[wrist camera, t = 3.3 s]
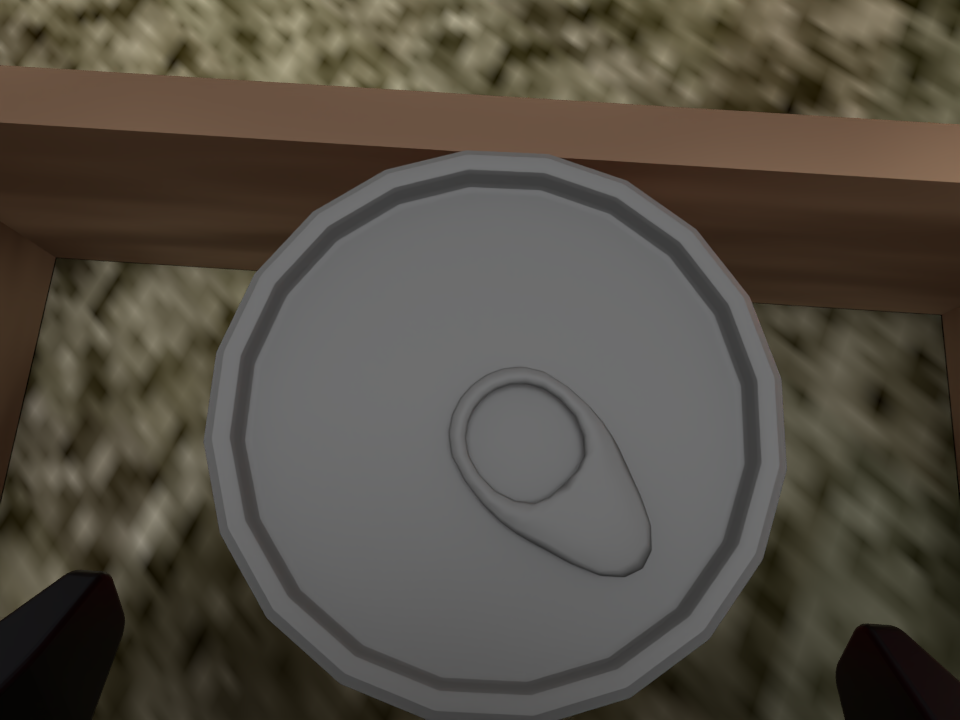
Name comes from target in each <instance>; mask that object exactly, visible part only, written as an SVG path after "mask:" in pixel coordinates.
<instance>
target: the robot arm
mask: <svg viewBox="0 0 960 720" xmlns="http://www.w3.org/2000/svg"><path fill="white" fill-rule="evenodd" d="M124 626H125V617H124V612H123V609H122V606H121V603H120V600H119V597H118V594H117V591H116V588H115V585H114V582H113V579H112V577H111V576H110V575H109V574H108V573H107V572H103V571H89V570H75V571H72V572H70V573H67V574H66V575H64V576H63V577H61V578H60V579H58V580H57V581H56V582H54V583H53V584H51V585H50V586H49V587H47V588H46V589H44V590H43V591H42V592H40V593H39V594H37V595H36V596H35V597H33V598H32V599H30V600H29V601H28V602H26V603H25V604H23V605H22V606H21V607H19V608H18V609H16V610H15V611H14V612H12V613H11V614H9V615H8V616H7V617H5V618H4V619H2V620H1V621H0V720H92V717H93V714H94V712H95V709H96V706H97V704H98V701H99V698H100V695H101V693H102V690H103V687H104V685H105V682H106V679H107V676H108V674H109V671H110V668H111V665H112V663H113V660H114V657H115V655H116V652H117V649H118V646H119V644H120V641H121V638H122V635H123V631H124ZM836 684H837V689H838V693H839V697H840V701H841V705H842V709H843V713H844V717H845V720H960V682H959V681H958V680H957V679H956V678H955V677H954V676H953V675H952V674H950V673H949V672H948V671H947V670H946V669H945V668H944V667H943V666H942V665H940V664H939V663H938V662H937V661H936V660H935V659H934V658H933V657H931V656H930V655H929V654H928V653H927V652H926V651H925V650H924V649H923V648H921V647H920V646H919V645H918V644H917V643H916V642H915V641H914V640H912V639H911V638H910V637H909V636H908V635H907V634H906V633H905V632H903V631H902V630H900V629H899V628H897V627H895V626H890V625H879V624H861V625H860V626H858V627H857V628H856V629H855V630H854V632H853V634H852V636H851V638H850V640H849V642H848V644H847V646H846V648H845V650H844V652H843V654H842V656H841V658H840V660H839V661H838V664H837V668H836Z"/></svg>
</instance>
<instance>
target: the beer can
mask: <svg viewBox="0 0 960 720" xmlns="http://www.w3.org/2000/svg"><path fill="white" fill-rule="evenodd" d="M204 446H205V452H206V457H207V463H208V469H209V474H210V480H211V485H212V491H213V497H214V502H215V508H216V513H217V519H218V525H219V530H220V534H221V536H222V538H223V540H224V541H225V543H226V545H227V547H228V549H229V550H230V552H231V554H232V556H233V558H234V560H235V561H236V563H237V565H238V567H239V569H240V570H241V572H242V574H243V576H244V578H245V579H246V581H247V583H248V585H249V587H250V589H251V590H252V592H253V594H254V596H255V598H256V599H257V601H258V603H259V605H260V607H261V608H262V610H263V612H264V614H265V616H266V618H268V619H269V620H270V621H271V622H272V623H273V624H274V625H275V626H276V627H278V628H279V629H280V630H281V631H282V632H283V633H284V634H285V635H286V636H288V637H289V638H290V639H291V640H292V641H293V642H294V643H295V644H296V645H298V646H299V647H300V648H301V649H302V650H303V651H304V652H305V653H306V654H308V655H309V656H310V657H311V658H312V659H313V660H314V661H315V662H316V663H318V664H319V665H320V666H321V667H322V668H323V669H324V670H325V671H326V672H328V673H329V674H330V675H331V676H332V677H333V678H334V679H335V680H336V681H338V682H339V683H340V684H342V685H344V686H347V687H349V688H352V689H354V690H356V691H359V692H361V693H364V694H366V695H368V696H371V697H373V698H376V699H378V700H380V701H383V702H385V703H388V704H390V705H393V706H395V707H397V708H400V709H402V710H405V711H407V712H409V713H412V714H414V715H417V716H419V717H421V718H424V719H426V720H559V719H563V718H566V717H569V716H573V715H576V714H579V713H582V712H586V711H589V710H592V709H596V708H599V707H602V706H605V705H609V704H612V703H615V702H619V701H622V700H625V699H628V698H631V697H632V696H633V695H635V694H636V693H637V692H639V691H640V690H641V689H643V688H644V687H645V686H647V685H648V684H650V683H651V682H652V681H654V680H655V679H656V678H658V677H659V676H660V675H662V674H663V673H664V672H666V671H667V670H668V669H670V668H671V667H672V666H674V665H675V664H676V663H678V662H679V661H680V660H682V659H683V658H684V657H686V656H687V655H689V654H690V653H691V652H693V651H694V650H695V649H697V648H698V647H699V646H701V645H702V644H703V643H705V642H706V641H707V640H709V639H710V637H711V636H712V634H713V633H714V631H715V630H716V628H717V627H718V625H719V624H720V622H721V621H722V619H723V618H724V616H725V615H726V613H727V612H728V610H729V609H730V607H731V606H732V604H733V603H734V601H735V600H736V598H737V597H738V595H739V594H740V592H741V591H742V590H743V588H744V587H745V585H746V584H747V582H748V581H749V579H750V578H751V576H752V575H753V573H754V572H755V570H756V569H757V567H758V566H759V564H760V563H761V561H762V560H763V557H764V553H765V549H766V545H767V542H768V538H769V534H770V530H771V527H772V523H773V519H774V515H775V512H776V508H777V504H778V500H779V497H780V493H781V489H782V485H783V482H784V478H785V474H786V470H787V464H786V448H785V431H784V414H783V397H782V381H781V377H780V374H779V371H778V369H777V366H776V364H775V361H774V359H773V356H772V353H771V351H770V348H769V346H768V343H767V340H766V338H765V335H764V333H763V330H762V328H761V325H760V322H759V320H758V317H757V315H756V312H755V309H754V307H753V304H752V302H751V299H750V297H749V295H748V294H747V293H746V292H745V290H744V289H743V288H742V287H741V285H740V284H739V283H738V281H737V280H736V279H735V278H734V276H733V275H732V274H731V273H730V271H729V270H728V269H727V268H726V266H725V265H724V264H723V262H722V261H721V260H720V259H719V257H718V256H717V255H716V254H715V252H714V251H713V250H712V249H711V247H710V246H709V245H708V243H707V242H706V241H705V240H704V238H703V237H702V236H701V235H700V233H699V232H698V231H697V230H696V229H695V228H694V227H692V226H691V225H690V224H688V223H687V222H685V221H684V220H682V219H681V218H680V217H678V216H677V215H675V214H674V213H672V212H671V211H670V210H668V209H667V208H665V207H664V206H662V205H661V204H660V203H658V202H657V201H655V200H654V199H652V198H651V197H650V196H648V195H647V194H645V193H644V192H642V191H641V190H640V189H638V188H637V187H635V186H634V185H633V184H631V183H630V182H628V181H626V180H623V179H620V178H617V177H615V176H612V175H609V174H606V173H603V172H600V171H597V170H594V169H591V168H588V167H585V166H582V165H579V164H576V163H573V162H570V161H567V160H564V159H562V158H559V157H556V156H553V155H550V154H536V153H514V152H492V151H470V150H465V151H461V152H457V153H453V154H449V155H445V156H440V157H436V158H432V159H428V160H424V161H420V162H416V163H412V164H407V165H403V166H399V167H395V168H391V169H387V170H384V171H382V172H381V173H379V174H377V175H376V176H374V177H372V178H370V179H369V180H367V181H365V182H363V183H362V184H360V185H358V186H357V187H355V188H353V189H351V190H350V191H348V192H346V193H344V194H343V195H341V196H339V197H338V198H336V199H334V200H332V201H331V202H329V203H327V204H325V205H324V206H322V207H320V208H319V209H317V210H315V211H313V212H312V213H311V214H310V215H309V216H308V217H307V219H306V220H305V221H304V222H303V223H302V224H301V225H300V226H299V227H298V228H297V229H296V230H295V231H294V232H293V233H292V235H291V236H290V237H289V238H288V239H287V240H286V241H285V242H284V243H283V244H282V245H281V246H280V247H279V248H278V249H277V251H276V252H275V253H274V254H273V255H272V256H271V257H270V258H269V259H268V260H267V261H266V262H265V263H264V264H263V265H262V267H261V268H260V269H259V270H258V271H257V272H256V273H255V274H254V276H253V278H252V280H251V282H250V284H249V286H248V289H247V291H246V293H245V295H244V297H243V299H242V301H241V303H240V305H239V307H238V309H237V311H236V313H235V315H234V317H233V319H232V321H231V324H230V326H229V328H228V330H227V332H226V334H225V336H224V338H223V340H222V342H221V344H220V346H219V348H218V350H217V352H216V359H215V366H214V373H213V380H212V387H211V394H210V401H209V408H208V415H207V422H206V429H205V436H204Z"/></svg>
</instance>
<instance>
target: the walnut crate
mask: <svg viewBox="0 0 960 720" xmlns="http://www.w3.org/2000/svg"><path fill="white" fill-rule="evenodd" d="M465 150H470V151H492V152H514V153H536V154H550V155H553V156H556V157H559V158H562V159H564V160H567V161H570V162H573V163H576V164H579V165H582V166H585V167H588V168H591V169H594V170H597V171H600V172H603V173H606V174H609V175H612V176H615V177H617V178H620V179H623V180H626V181H628V182H630V183H631V184H633V185H634V186H635V187H637V188H638V189H640V190H641V191H642V192H644V193H645V194H647V195H648V196H650V197H651V198H652V199H654V200H655V201H657V202H658V203H660V204H661V205H662V206H664V207H665V208H667V209H668V210H670V211H671V212H672V213H674V214H675V215H677V216H678V217H680V218H681V219H682V220H684V221H685V222H687V223H688V224H690V225H691V226H692V227H694V228H695V229H696V230H697V231H698V232H699V233H700V235H701V236H702V237H703V238H704V240H705V241H706V242H707V243H708V245H709V246H710V247H711V249H712V250H713V251H714V252H715V254H716V255H717V256H718V257H719V259H720V260H721V261H722V262H723V264H724V265H725V266H726V268H727V269H728V270H729V271H730V273H731V274H732V275H733V276H734V278H735V279H736V280H737V281H738V283H739V284H740V285H741V287H742V288H743V289H744V290H745V292H746V293H747V294H748V295H749V297H750V299H751V302H752V303H767V304H783V305H798V306H814V307H829V308H845V309H860V310H876V311H891V312H907V313H922V314H938V315H942V321H943V331H944V341H945V351H946V361H947V371H948V381H949V391H950V401H951V411H952V421H953V431H954V441H955V451H956V461H957V471H958V481H959V491H960V125H956V124H940V123H924V122H908V121H891V120H875V119H859V118H843V117H827V116H811V115H795V114H778V113H762V112H746V111H730V110H714V109H698V108H681V107H665V106H649V105H633V104H617V103H601V102H585V101H568V100H552V99H536V98H520V97H504V96H488V95H471V94H455V93H439V92H423V91H407V90H391V89H375V88H358V87H342V86H326V85H310V84H294V83H278V82H262V81H245V80H229V79H213V78H197V77H181V76H165V75H148V74H132V73H116V72H100V71H84V70H68V69H52V68H35V67H19V66H3V65H0V499H1V494H2V490H3V485H4V481H5V477H6V472H7V468H8V464H9V459H10V455H11V451H12V446H13V442H14V438H15V433H16V429H17V424H18V420H19V416H20V411H21V407H22V403H23V398H24V394H25V390H26V385H27V381H28V376H29V372H30V368H31V363H32V359H33V355H34V350H35V346H36V342H37V337H38V333H39V328H40V324H41V320H42V315H43V311H44V307H45V302H46V298H47V294H48V289H49V285H50V280H51V276H52V272H53V267H54V263H55V259H56V258H71V259H86V260H102V261H117V262H133V263H148V264H164V265H179V266H195V267H210V268H226V269H241V270H257V271H258V270H259V269H260V268H261V267H262V265H263V264H264V263H265V262H266V261H267V260H268V259H269V258H270V257H271V256H272V255H273V254H274V253H275V252H276V251H277V249H278V248H279V247H280V246H281V245H282V244H283V243H284V242H285V241H286V240H287V239H288V238H289V237H290V236H291V235H292V233H293V232H294V231H295V230H296V229H297V228H298V227H299V226H300V225H301V224H302V223H303V222H304V221H305V220H306V219H307V217H308V216H309V215H310V214H311V213H312V212H313V211H315V210H317V209H319V208H320V207H322V206H324V205H325V204H327V203H329V202H331V201H332V200H334V199H336V198H338V197H339V196H341V195H343V194H344V193H346V192H348V191H350V190H351V189H353V188H355V187H357V186H358V185H360V184H362V183H363V182H365V181H367V180H369V179H370V178H372V177H374V176H376V175H377V174H379V173H381V172H382V171H384V170H387V169H391V168H395V167H399V166H403V165H407V164H412V163H416V162H420V161H424V160H428V159H432V158H436V157H440V156H445V155H449V154H453V153H457V152H461V151H465Z"/></svg>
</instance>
